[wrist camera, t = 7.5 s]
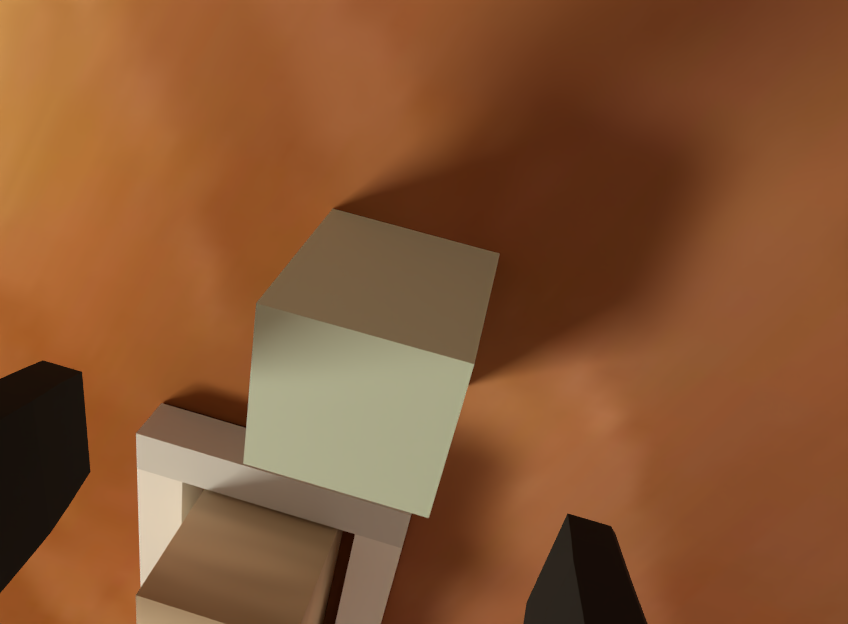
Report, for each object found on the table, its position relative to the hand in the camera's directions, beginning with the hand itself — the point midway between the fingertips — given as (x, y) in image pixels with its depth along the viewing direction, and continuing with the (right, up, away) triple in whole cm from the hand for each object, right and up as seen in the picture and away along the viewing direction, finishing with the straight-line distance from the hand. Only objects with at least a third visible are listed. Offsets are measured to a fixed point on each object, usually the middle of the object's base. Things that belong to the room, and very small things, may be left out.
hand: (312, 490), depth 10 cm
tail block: (+1, +3, +5) cm, 6 cm away
